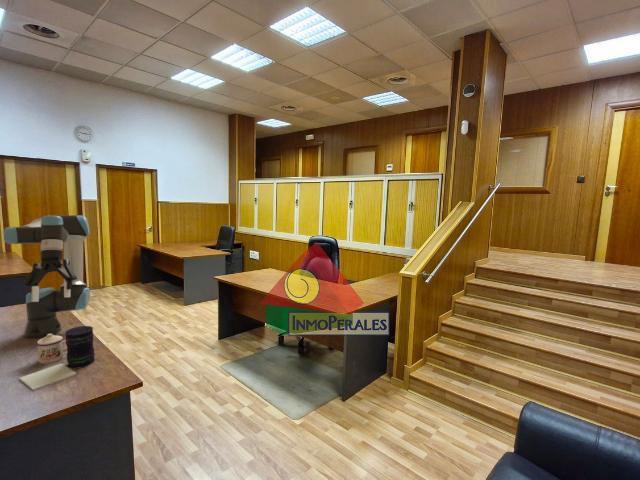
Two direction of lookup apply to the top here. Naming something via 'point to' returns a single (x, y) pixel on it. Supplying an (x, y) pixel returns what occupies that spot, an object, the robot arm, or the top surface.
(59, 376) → the coaster
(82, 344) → the dark blue canister
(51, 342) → the teacup with lid
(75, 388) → the top surface
